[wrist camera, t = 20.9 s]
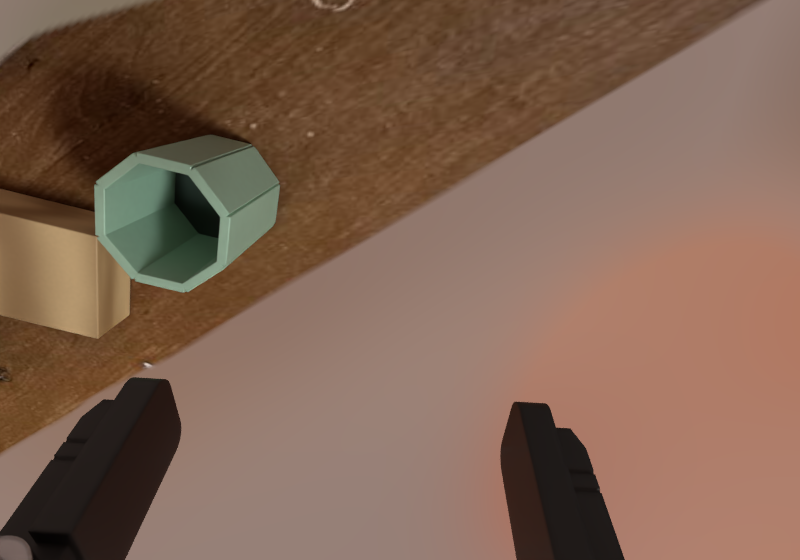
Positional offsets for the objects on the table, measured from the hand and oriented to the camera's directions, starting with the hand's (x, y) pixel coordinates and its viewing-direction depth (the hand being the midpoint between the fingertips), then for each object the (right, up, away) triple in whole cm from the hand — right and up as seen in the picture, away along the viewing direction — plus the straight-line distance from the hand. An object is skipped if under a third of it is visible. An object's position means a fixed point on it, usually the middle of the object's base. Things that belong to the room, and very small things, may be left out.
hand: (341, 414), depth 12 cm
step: (-22, +5, +21) cm, 31 cm away
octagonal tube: (-13, +8, +15) cm, 21 cm away
